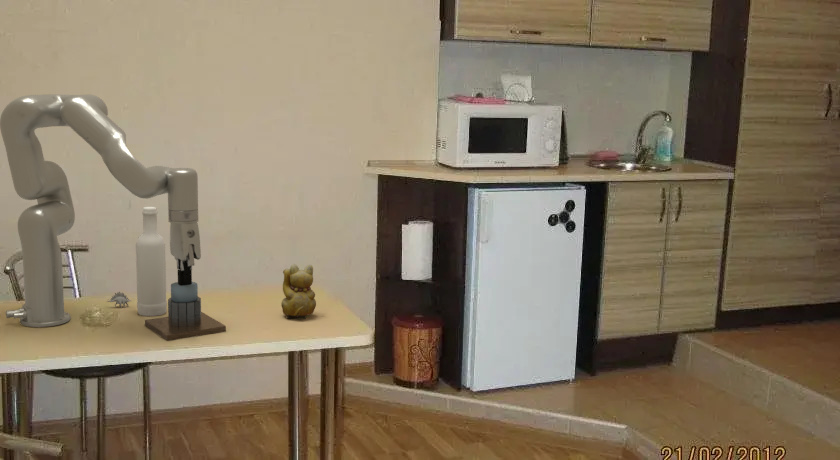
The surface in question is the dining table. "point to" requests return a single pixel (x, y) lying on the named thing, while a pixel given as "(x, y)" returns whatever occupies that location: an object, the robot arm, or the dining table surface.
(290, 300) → the decorative figurine
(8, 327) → the dining table surface
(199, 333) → the copper square plate
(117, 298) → the stegosaurus
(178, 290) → the cap
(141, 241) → the bottle
